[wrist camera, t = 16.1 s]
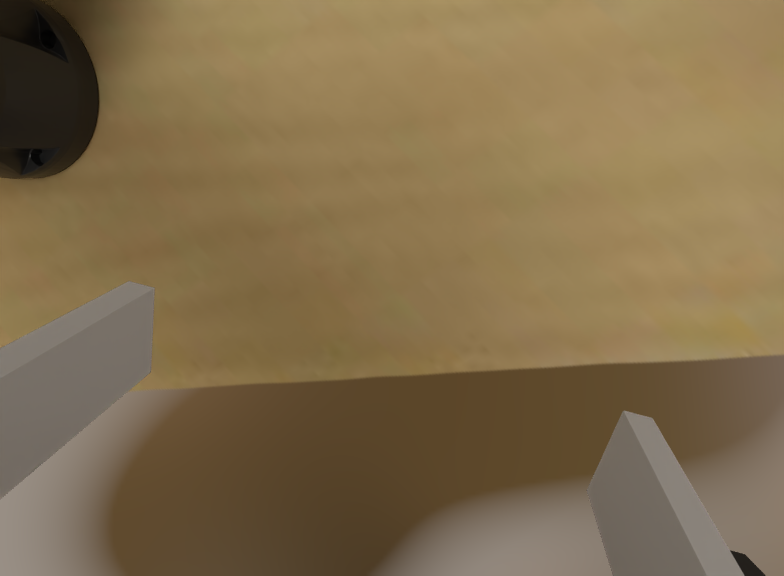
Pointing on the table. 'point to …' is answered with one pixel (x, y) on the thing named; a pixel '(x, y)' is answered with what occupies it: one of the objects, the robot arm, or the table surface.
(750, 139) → the table surface
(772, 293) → the table surface
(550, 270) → the table surface
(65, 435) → the robot arm
